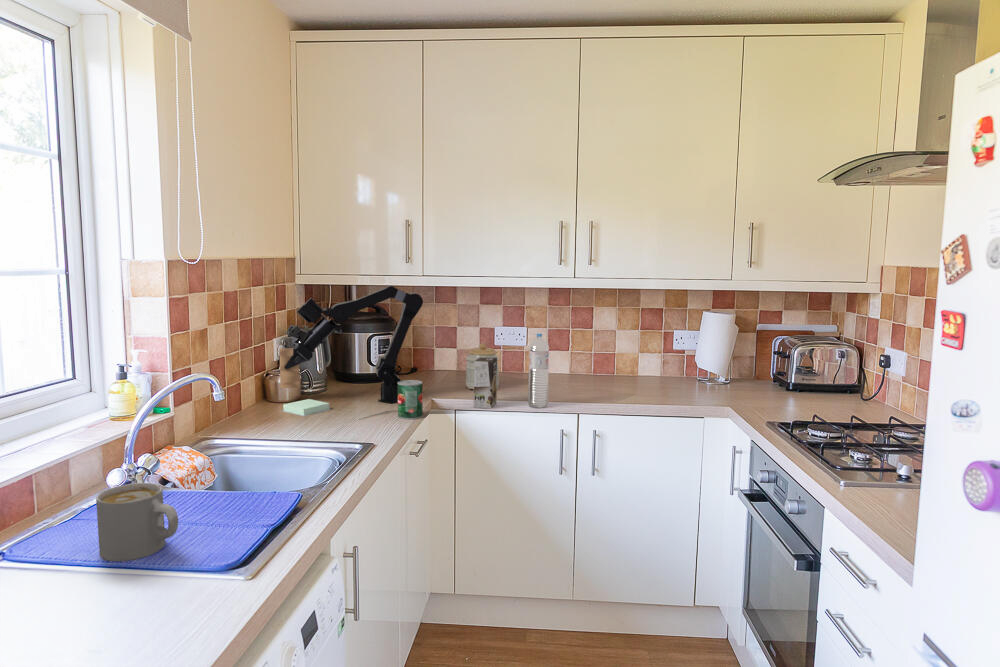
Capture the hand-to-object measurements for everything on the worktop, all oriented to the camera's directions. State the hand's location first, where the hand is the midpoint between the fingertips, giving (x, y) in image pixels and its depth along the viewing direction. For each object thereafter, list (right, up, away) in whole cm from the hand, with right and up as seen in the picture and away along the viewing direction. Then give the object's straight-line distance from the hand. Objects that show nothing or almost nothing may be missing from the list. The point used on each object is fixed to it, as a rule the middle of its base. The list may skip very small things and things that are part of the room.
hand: (285, 366), depth 218 cm
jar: (+65, -10, +36) cm, 75 cm away
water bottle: (+84, -14, +7) cm, 86 cm away
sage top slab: (+10, -13, -9) cm, 18 cm away
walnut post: (+1, -7, +1) cm, 7 cm away
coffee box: (+66, -14, +7) cm, 68 cm away
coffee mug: (+9, -27, -105) cm, 109 cm away
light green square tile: (+9, -15, -8) cm, 20 cm away
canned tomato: (+43, -15, -9) cm, 46 cm away
